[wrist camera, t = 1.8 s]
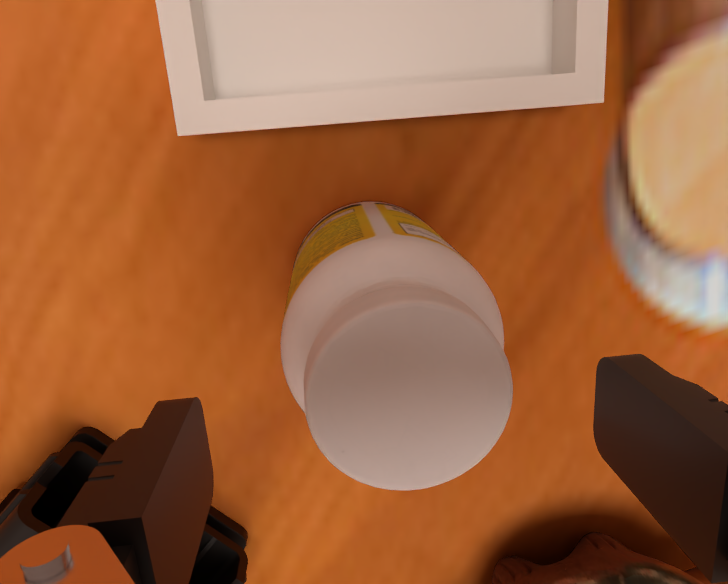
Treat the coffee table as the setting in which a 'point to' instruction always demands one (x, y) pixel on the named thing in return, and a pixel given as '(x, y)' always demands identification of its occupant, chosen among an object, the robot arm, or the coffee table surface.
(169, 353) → the coffee table surface
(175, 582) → the robot arm
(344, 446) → the pill bottle
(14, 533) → the end cap
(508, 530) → the coffee table surface
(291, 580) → the coffee table surface
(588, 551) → the decorative turtle
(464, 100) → the tray
